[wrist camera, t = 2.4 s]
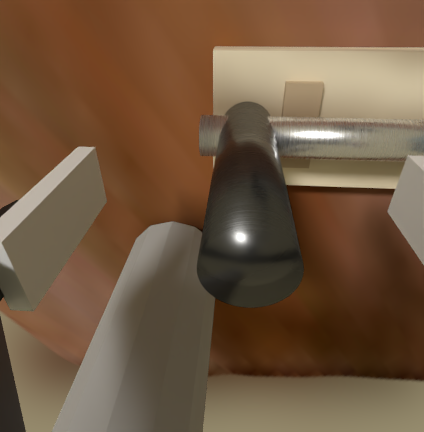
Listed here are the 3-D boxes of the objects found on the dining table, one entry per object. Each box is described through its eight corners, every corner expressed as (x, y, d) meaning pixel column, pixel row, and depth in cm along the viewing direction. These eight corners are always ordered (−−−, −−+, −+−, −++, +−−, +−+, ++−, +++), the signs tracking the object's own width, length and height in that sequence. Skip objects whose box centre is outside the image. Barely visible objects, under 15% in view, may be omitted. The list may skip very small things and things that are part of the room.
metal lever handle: (207, 170, 22) (171, 340, 11) (205, 58, 18) (147, 154, 7) (489, 180, 21) (754, 381, 10) (554, 61, 17) (1107, 182, 6)
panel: (215, 46, 19) (212, 51, 17) (512, 47, 17) (540, 53, 16) (215, 172, 23) (212, 185, 21) (450, 180, 22) (467, 195, 20)
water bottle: (187, 198, 24) (-106, 1257, 4) (237, 266, 28) (220, 1014, 8) (99, 242, 28) (-314, 950, 7) (154, 298, 31) (-19, 881, 11)
